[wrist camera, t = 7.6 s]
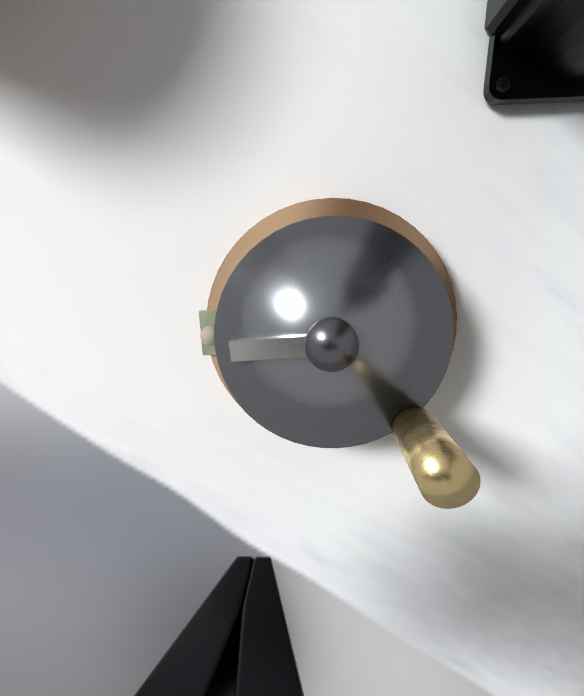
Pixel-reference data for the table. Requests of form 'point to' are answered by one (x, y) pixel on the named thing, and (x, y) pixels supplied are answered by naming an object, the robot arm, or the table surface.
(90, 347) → the table surface
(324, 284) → the dial
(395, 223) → the stand
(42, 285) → the table surface
